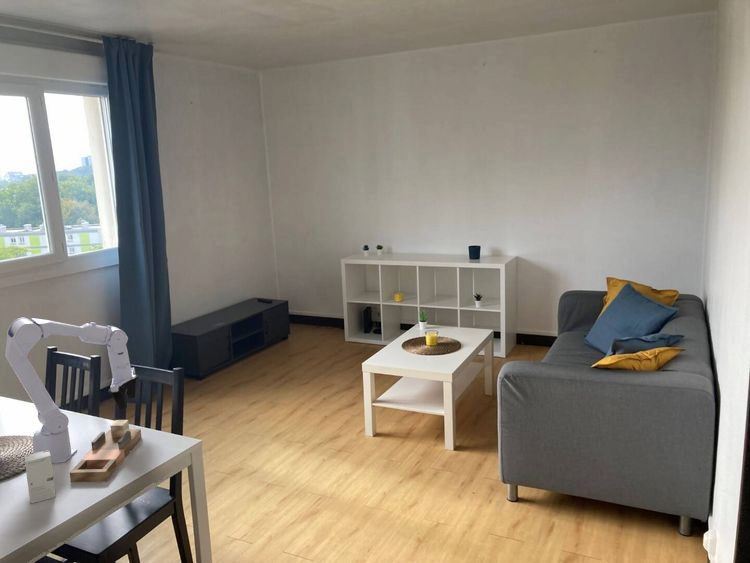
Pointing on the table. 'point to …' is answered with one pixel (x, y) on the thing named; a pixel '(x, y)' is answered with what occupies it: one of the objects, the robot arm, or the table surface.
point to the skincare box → (39, 476)
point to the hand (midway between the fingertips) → (127, 402)
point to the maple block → (119, 428)
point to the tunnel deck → (104, 456)
